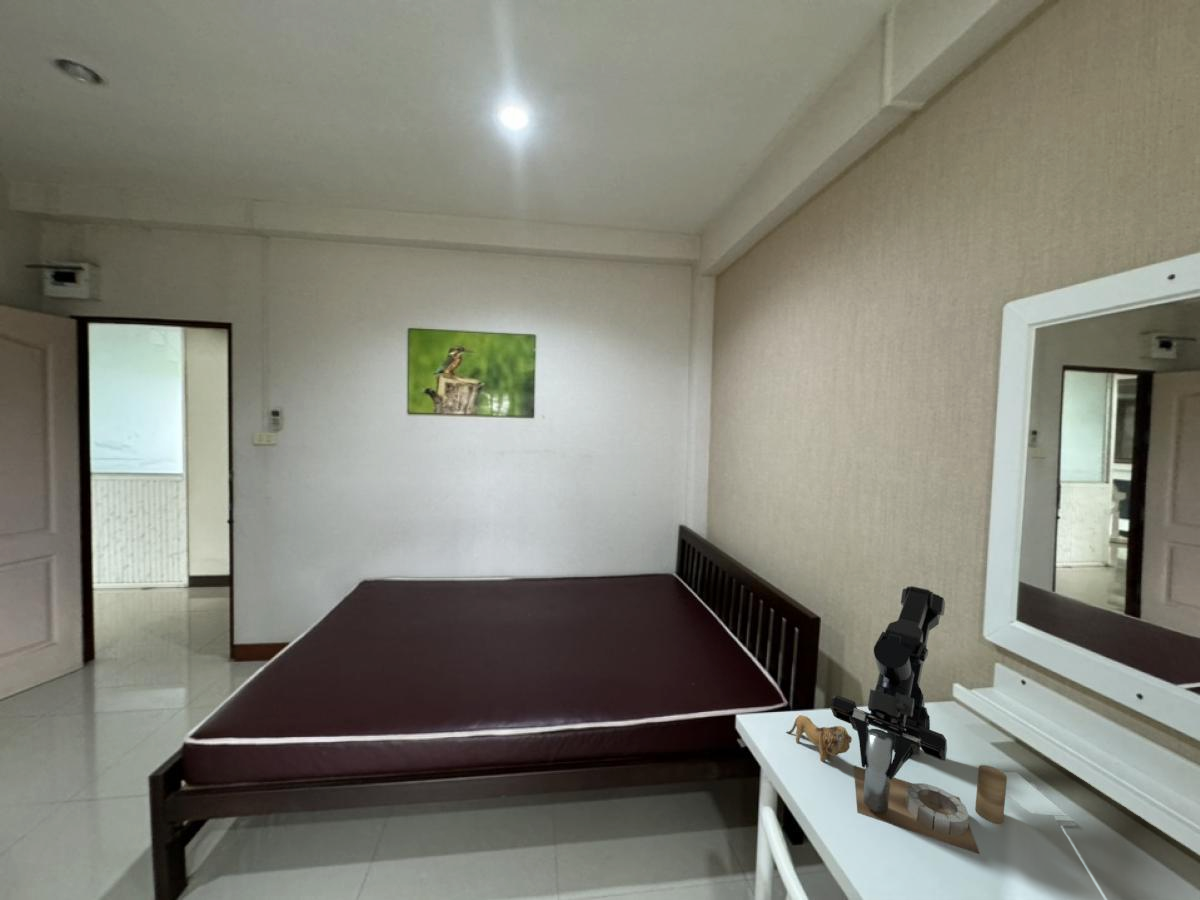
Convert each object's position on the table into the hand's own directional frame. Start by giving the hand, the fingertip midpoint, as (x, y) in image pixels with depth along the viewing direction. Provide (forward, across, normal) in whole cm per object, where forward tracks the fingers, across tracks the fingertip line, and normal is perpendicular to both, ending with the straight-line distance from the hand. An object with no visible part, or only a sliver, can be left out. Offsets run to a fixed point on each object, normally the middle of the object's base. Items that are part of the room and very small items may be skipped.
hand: (876, 772), depth 87 cm
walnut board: (+1, +4, +11) cm, 12 cm away
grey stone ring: (0, +8, +11) cm, 14 cm away
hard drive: (-12, +21, +26) cm, 36 cm away
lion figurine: (-1, -13, +14) cm, 19 cm away
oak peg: (-5, +16, +17) cm, 24 cm away
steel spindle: (+4, 0, +6) cm, 7 cm away
